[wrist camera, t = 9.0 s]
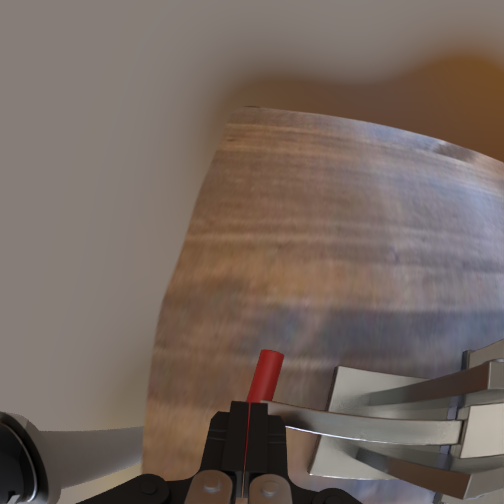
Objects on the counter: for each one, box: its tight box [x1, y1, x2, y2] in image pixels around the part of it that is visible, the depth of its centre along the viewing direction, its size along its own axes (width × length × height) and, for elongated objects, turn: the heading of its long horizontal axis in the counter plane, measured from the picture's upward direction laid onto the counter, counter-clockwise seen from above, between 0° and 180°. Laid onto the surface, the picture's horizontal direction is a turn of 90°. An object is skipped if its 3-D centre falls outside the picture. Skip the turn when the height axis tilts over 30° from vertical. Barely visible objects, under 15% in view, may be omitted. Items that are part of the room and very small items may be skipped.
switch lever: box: [244, 350, 504, 465], centre depth 9 cm, size 13×6×2 cm
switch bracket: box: [307, 358, 504, 500], centre depth 11 cm, size 10×8×13 cm
